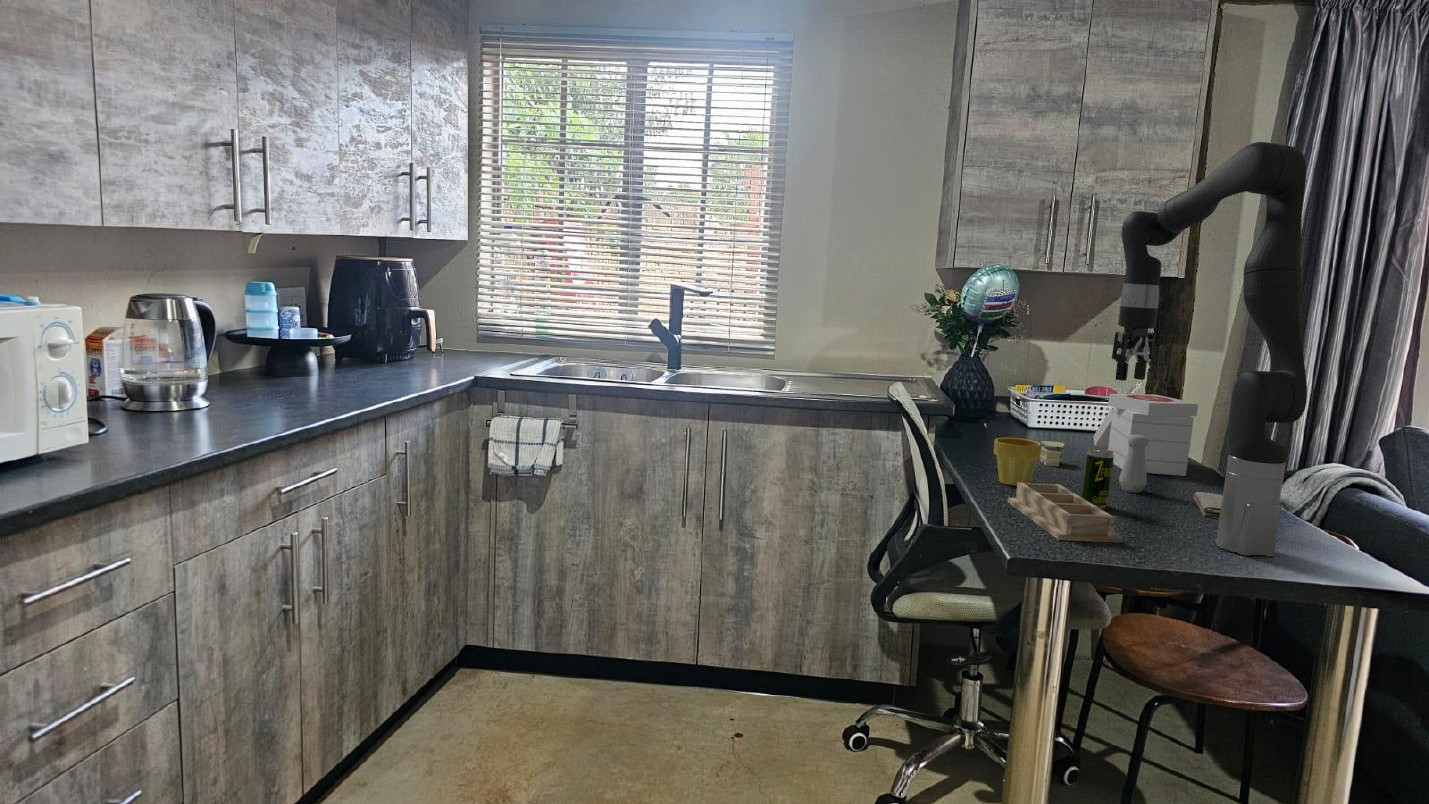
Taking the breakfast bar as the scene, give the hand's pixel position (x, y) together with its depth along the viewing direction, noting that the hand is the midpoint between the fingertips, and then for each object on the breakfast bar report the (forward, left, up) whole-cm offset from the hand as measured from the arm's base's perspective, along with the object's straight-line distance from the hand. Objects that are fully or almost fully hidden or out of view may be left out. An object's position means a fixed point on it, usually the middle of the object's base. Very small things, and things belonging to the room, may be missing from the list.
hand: (1130, 379), depth 214 cm
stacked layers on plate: (+34, +1, -27) cm, 43 cm away
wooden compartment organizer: (-23, +22, -26) cm, 42 cm away
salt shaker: (+7, -7, -27) cm, 28 cm away
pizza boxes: (+40, -25, -27) cm, 54 cm away
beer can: (-9, +9, -27) cm, 30 cm away
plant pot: (+9, +20, -27) cm, 34 cm away
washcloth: (-8, -21, -27) cm, 35 cm away
